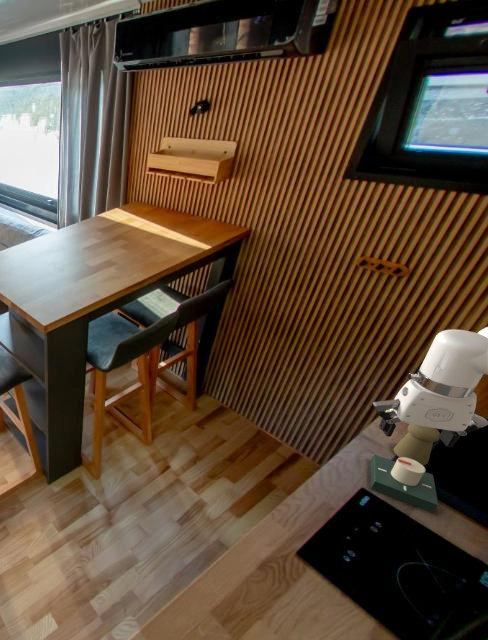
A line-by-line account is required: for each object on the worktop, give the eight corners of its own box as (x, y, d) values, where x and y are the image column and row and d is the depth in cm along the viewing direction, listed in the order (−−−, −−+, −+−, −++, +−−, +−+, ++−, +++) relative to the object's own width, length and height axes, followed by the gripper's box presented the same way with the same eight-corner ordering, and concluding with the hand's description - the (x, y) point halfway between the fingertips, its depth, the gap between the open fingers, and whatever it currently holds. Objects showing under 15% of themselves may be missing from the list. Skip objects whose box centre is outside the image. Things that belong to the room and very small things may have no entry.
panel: (428, 482, 92) (433, 474, 91) (433, 512, 86) (438, 504, 85) (370, 461, 99) (373, 453, 98) (371, 488, 93) (375, 480, 92)
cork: (405, 464, 97) (421, 435, 92) (387, 445, 102) (401, 417, 97) (435, 466, 95) (452, 437, 91) (415, 447, 100) (430, 419, 96)
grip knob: (416, 476, 91) (424, 462, 89) (418, 489, 89) (426, 475, 86) (390, 466, 94) (397, 453, 92) (391, 479, 92) (398, 465, 89)
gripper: (395, 386, 79) (370, 440, 86) (522, 403, 71) (482, 460, 78) (378, 365, 85) (356, 417, 92) (493, 378, 77) (459, 434, 84)
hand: (414, 437), depth 85 cm, fingers open, 9 cm apart
